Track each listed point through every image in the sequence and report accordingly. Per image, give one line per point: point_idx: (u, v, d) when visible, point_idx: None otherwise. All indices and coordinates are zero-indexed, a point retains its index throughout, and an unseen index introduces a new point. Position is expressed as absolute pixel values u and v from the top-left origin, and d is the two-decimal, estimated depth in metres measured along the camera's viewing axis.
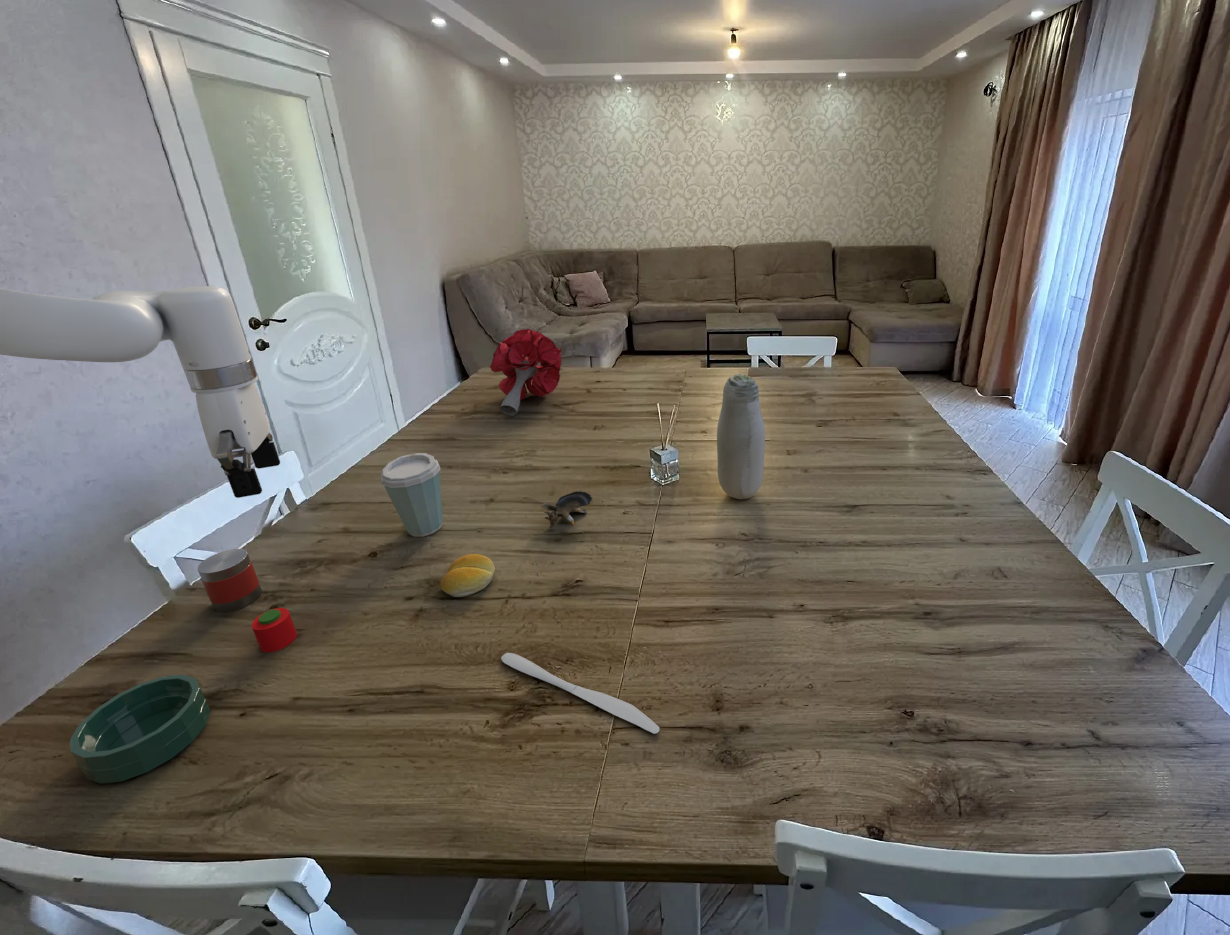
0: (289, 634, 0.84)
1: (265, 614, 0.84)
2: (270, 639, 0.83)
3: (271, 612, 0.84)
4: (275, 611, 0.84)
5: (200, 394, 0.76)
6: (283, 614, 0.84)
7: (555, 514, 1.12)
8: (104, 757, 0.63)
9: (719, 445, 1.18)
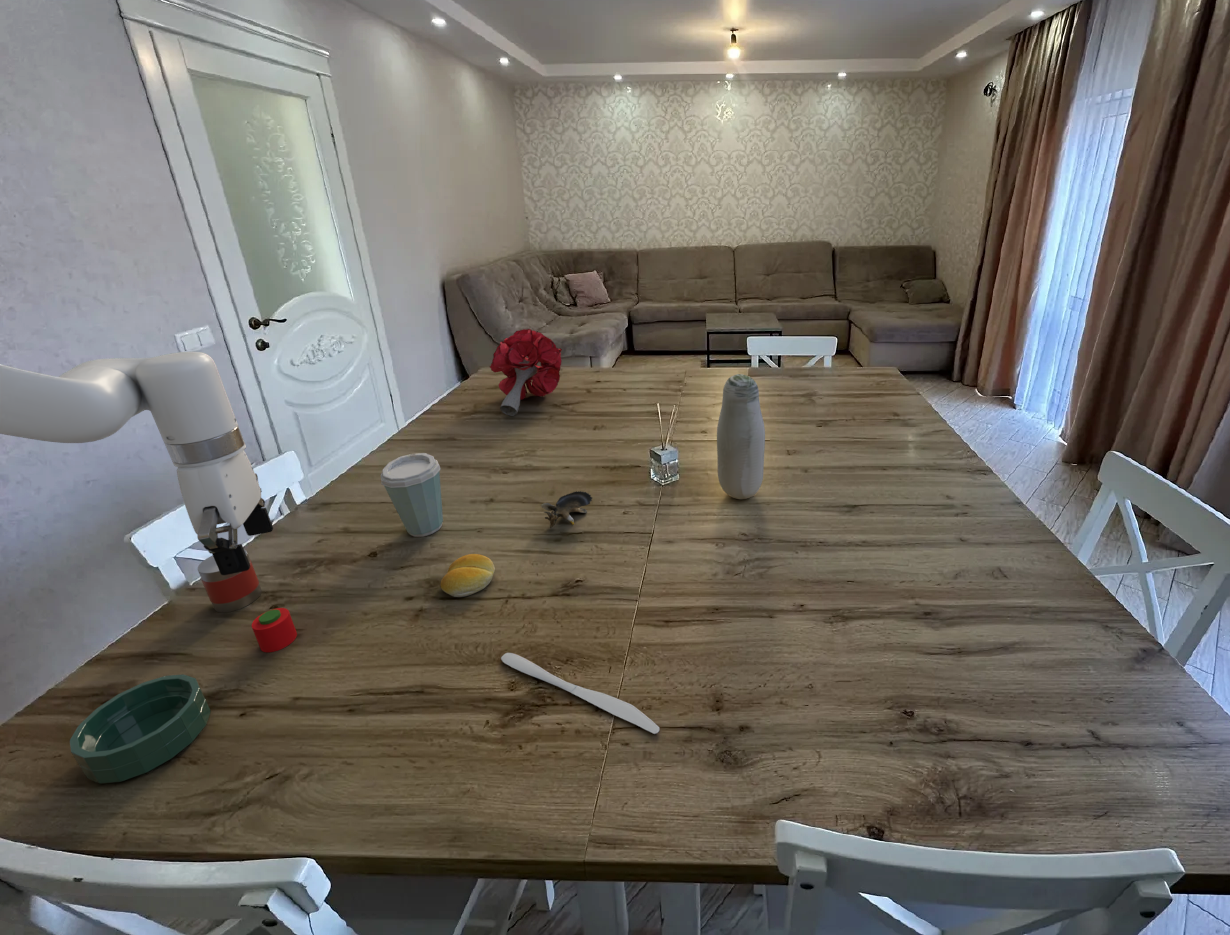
0: (289, 634, 0.84)
1: (265, 614, 0.84)
2: (270, 639, 0.83)
3: (271, 612, 0.84)
4: (275, 611, 0.84)
5: (181, 469, 0.70)
6: (283, 614, 0.84)
7: (555, 514, 1.12)
8: (104, 757, 0.63)
9: (719, 445, 1.18)
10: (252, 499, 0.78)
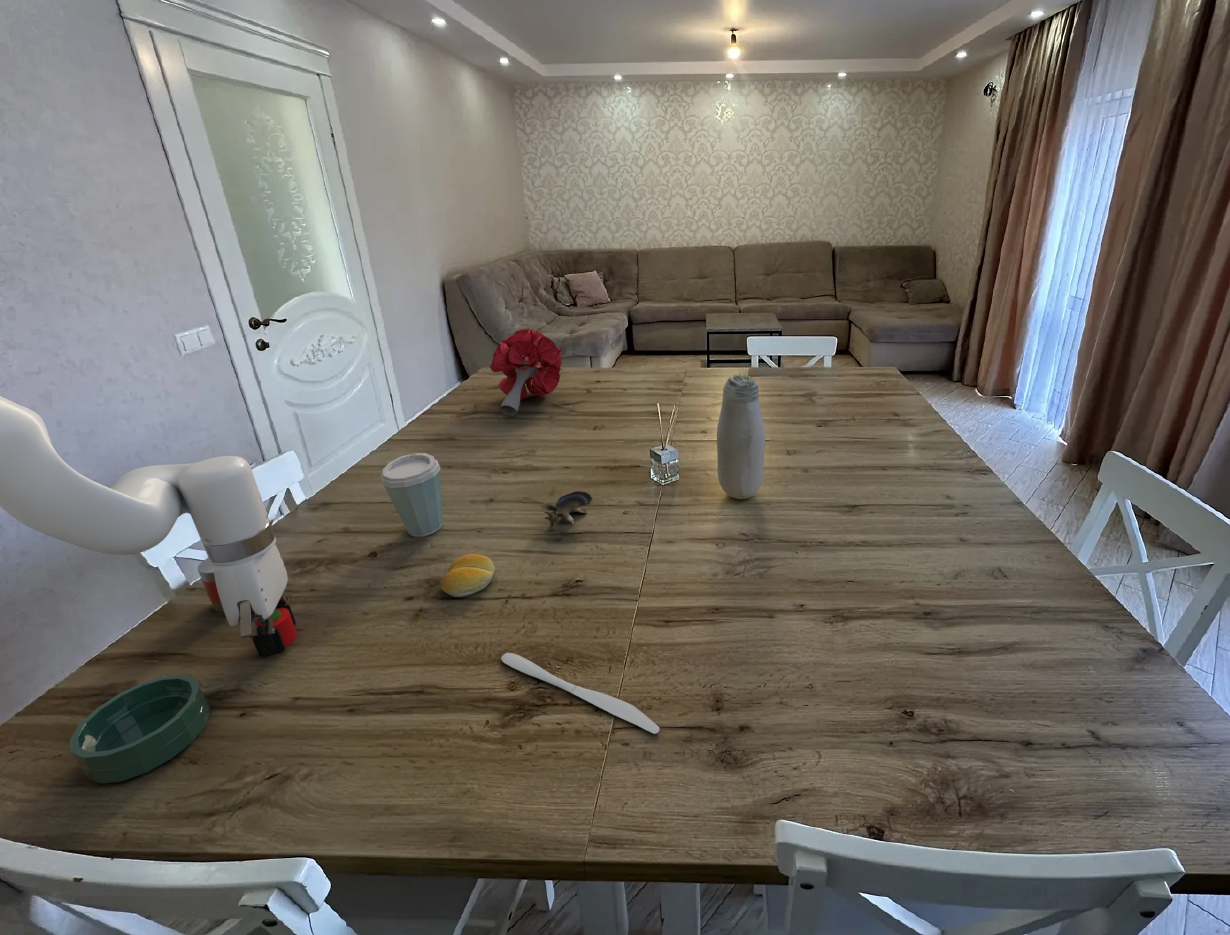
0: (289, 634, 0.84)
1: None
2: None
3: None
4: (275, 611, 0.84)
5: (218, 567, 0.75)
6: (283, 614, 0.84)
7: (555, 514, 1.12)
8: (104, 757, 0.63)
9: (719, 445, 1.18)
10: (280, 586, 0.83)
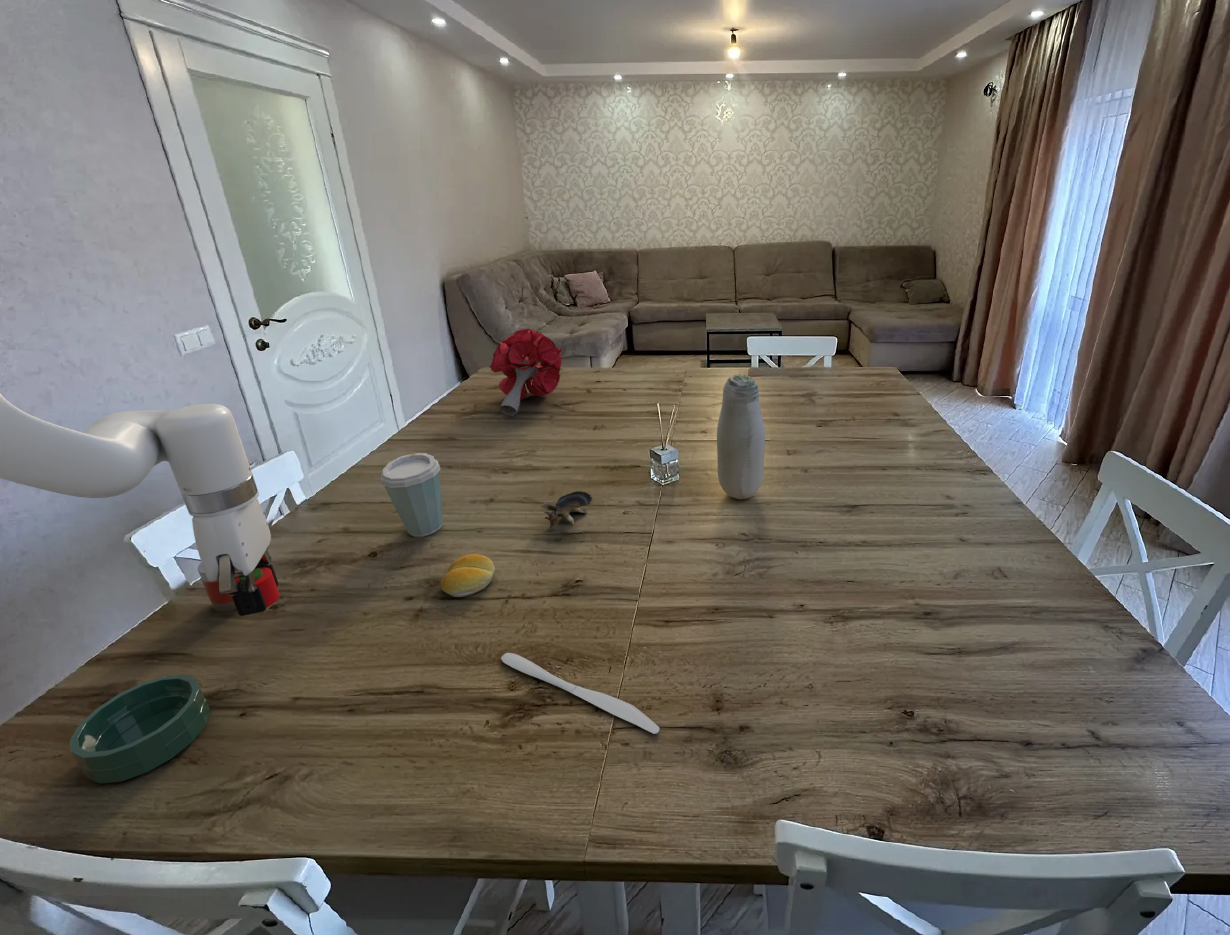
0: (271, 594, 0.81)
1: None
2: None
3: (253, 571, 0.81)
4: (257, 570, 0.81)
5: (197, 519, 0.72)
6: (265, 573, 0.81)
7: (555, 514, 1.12)
8: (104, 757, 0.63)
9: (719, 445, 1.18)
10: (262, 544, 0.80)
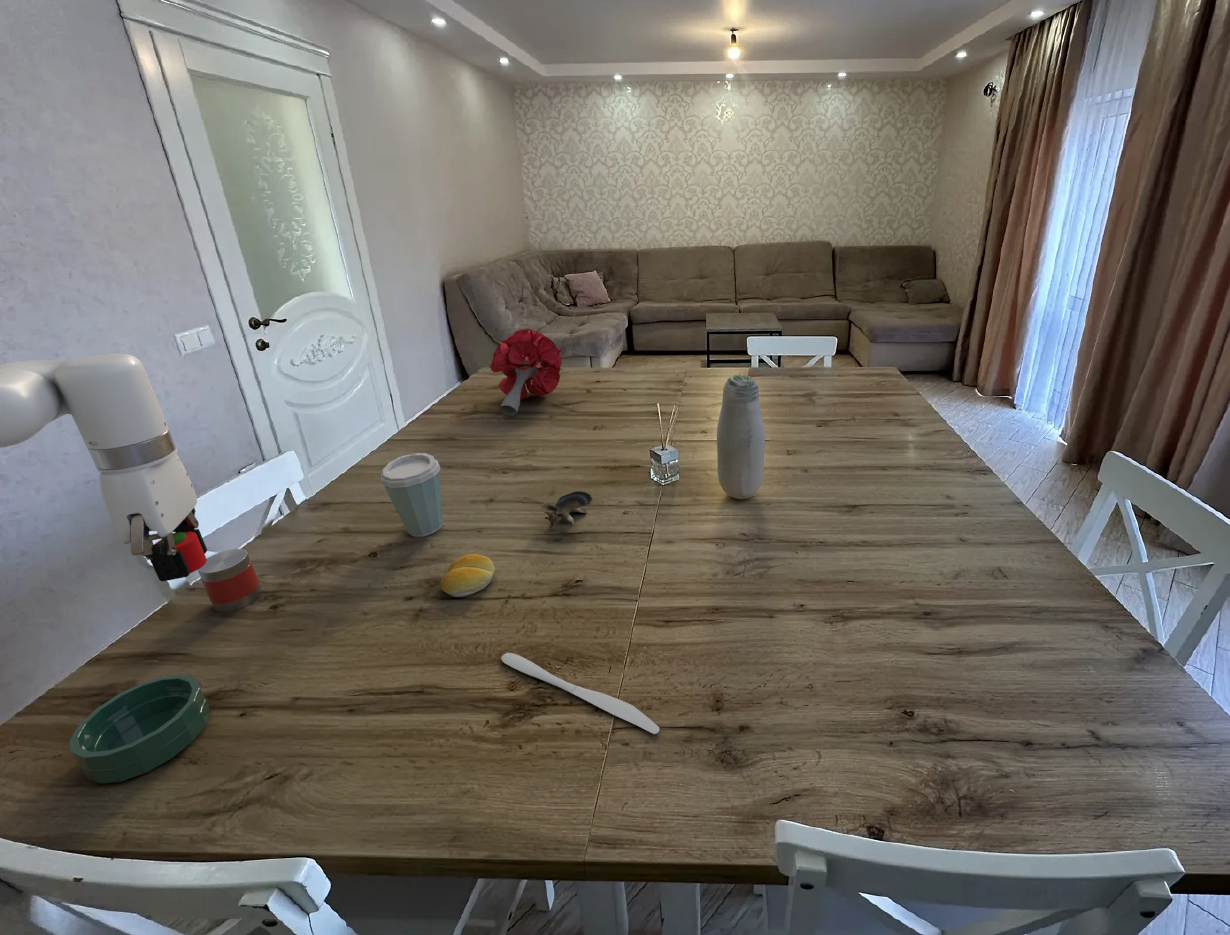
0: (196, 559, 0.77)
1: None
2: None
3: (175, 535, 0.77)
4: (180, 533, 0.77)
5: (104, 475, 0.68)
6: (189, 537, 0.77)
7: (555, 514, 1.12)
8: (104, 757, 0.63)
9: (719, 445, 1.18)
10: (185, 506, 0.76)
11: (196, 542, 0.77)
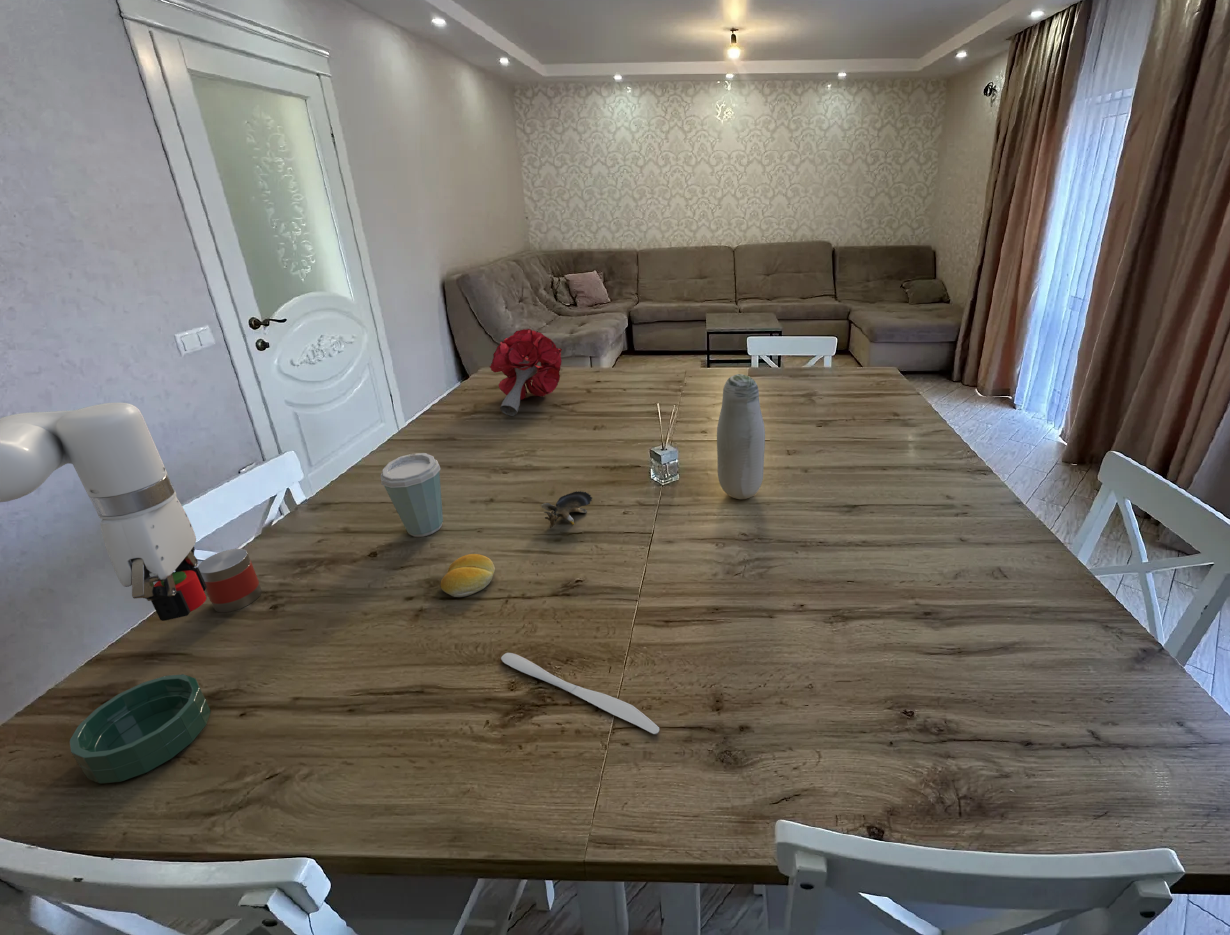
0: (195, 598, 0.79)
1: None
2: None
3: (175, 574, 0.79)
4: (180, 573, 0.79)
5: (105, 522, 0.70)
6: (189, 576, 0.79)
7: (555, 514, 1.12)
8: (104, 757, 0.63)
9: (719, 445, 1.18)
10: (184, 546, 0.78)
11: (195, 581, 0.79)
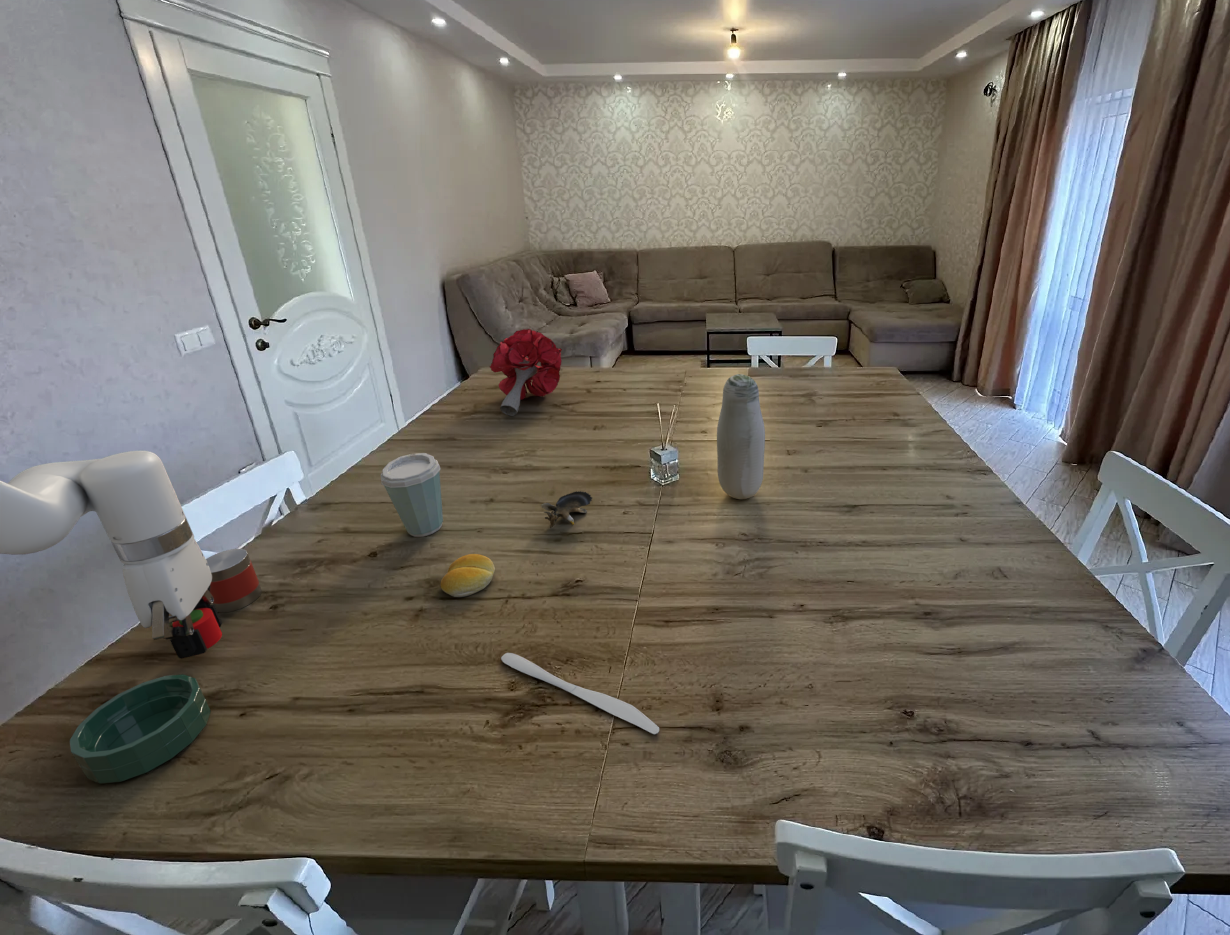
0: (212, 635, 0.82)
1: None
2: None
3: (193, 612, 0.81)
4: (197, 611, 0.81)
5: (127, 567, 0.72)
6: (205, 614, 0.82)
7: (555, 514, 1.12)
8: (104, 757, 0.63)
9: (719, 445, 1.18)
10: (201, 586, 0.81)
11: (212, 619, 0.82)
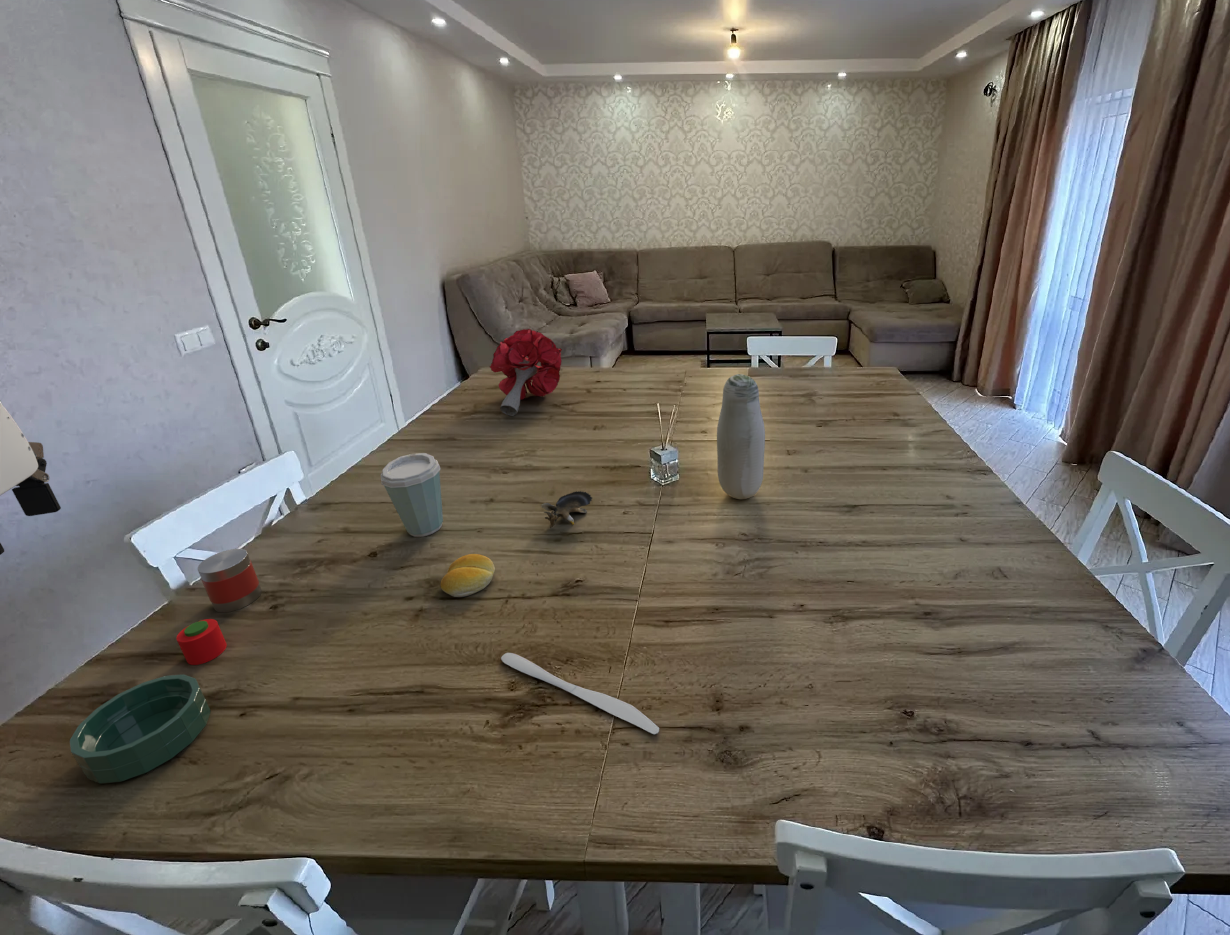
0: (217, 646, 0.82)
1: (191, 626, 0.82)
2: (196, 651, 0.80)
3: (198, 624, 0.82)
4: (202, 622, 0.82)
5: None
6: (211, 625, 0.82)
7: (555, 514, 1.12)
8: (104, 757, 0.63)
9: (719, 445, 1.18)
10: (16, 471, 0.66)
11: (217, 630, 0.83)
